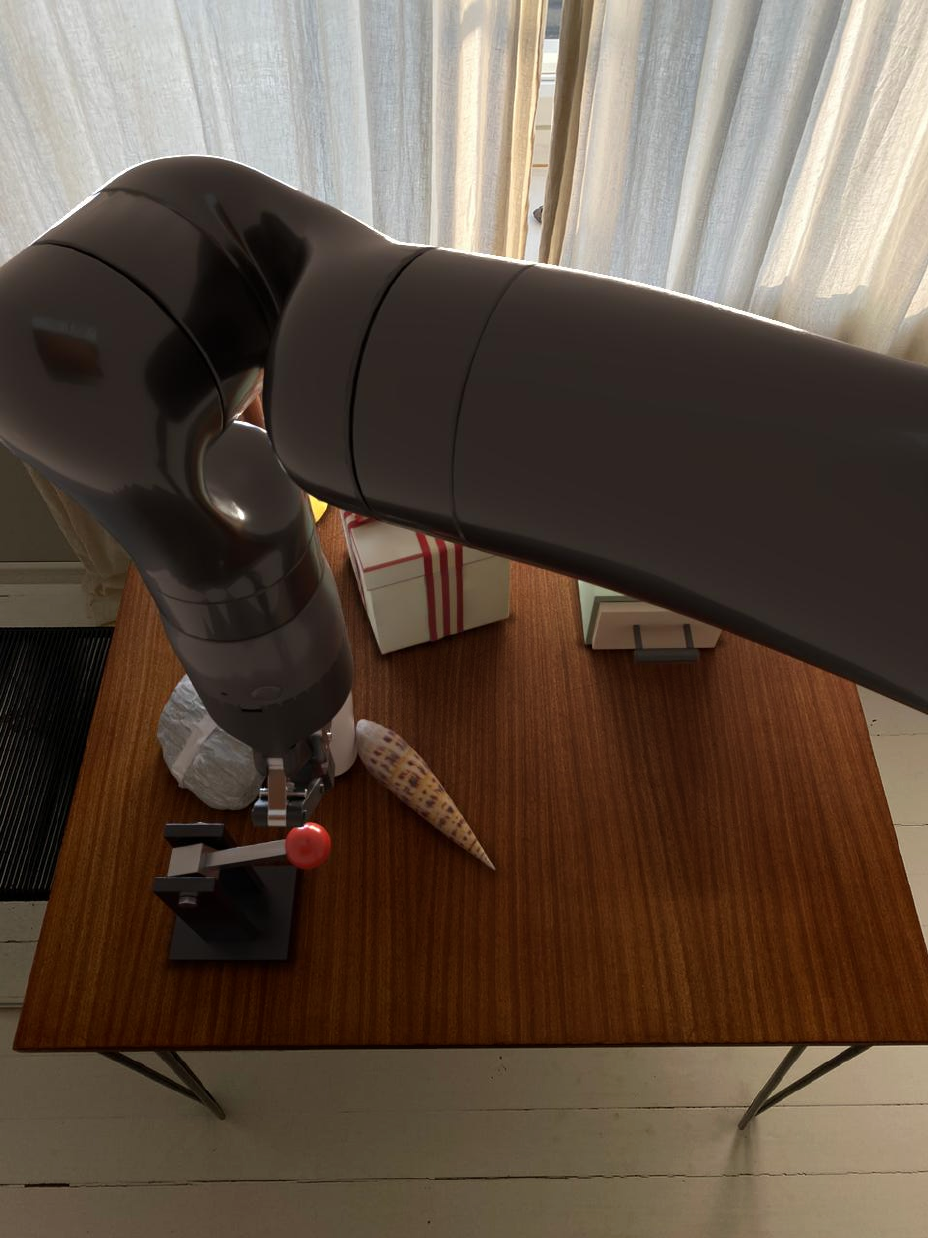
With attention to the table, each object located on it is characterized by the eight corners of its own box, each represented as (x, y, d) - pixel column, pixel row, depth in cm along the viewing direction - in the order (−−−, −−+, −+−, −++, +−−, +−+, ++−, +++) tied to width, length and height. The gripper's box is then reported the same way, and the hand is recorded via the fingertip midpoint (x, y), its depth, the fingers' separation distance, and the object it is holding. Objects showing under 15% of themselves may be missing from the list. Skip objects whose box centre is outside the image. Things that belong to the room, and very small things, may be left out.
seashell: (381, 725, 87) (376, 701, 82) (509, 858, 79) (511, 839, 75) (346, 753, 85) (339, 730, 81) (473, 892, 77) (473, 874, 73)
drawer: (721, 683, 88) (739, 647, 82) (596, 685, 88) (605, 649, 82) (689, 523, 99) (702, 482, 93) (578, 525, 99) (585, 483, 93)
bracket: (299, 869, 79) (264, 804, 65) (289, 963, 74) (249, 913, 61) (188, 869, 79) (131, 804, 66) (172, 963, 74) (107, 912, 61)
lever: (341, 827, 63) (316, 812, 60) (337, 871, 61) (311, 858, 59) (198, 852, 67) (169, 839, 65) (190, 894, 66) (161, 882, 63)
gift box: (454, 497, 103) (451, 384, 89) (521, 616, 94) (530, 511, 79) (317, 543, 99) (290, 432, 85) (372, 671, 90) (353, 571, 76)
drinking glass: (295, 726, 87) (265, 647, 74) (364, 719, 87) (345, 639, 74) (296, 790, 83) (264, 718, 70) (367, 783, 83) (348, 710, 71)
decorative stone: (307, 751, 85) (296, 724, 80) (232, 832, 81) (216, 808, 76) (213, 681, 89) (198, 651, 84) (137, 754, 85) (116, 726, 80)
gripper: (204, 516, 43) (272, 685, 58) (147, 763, 36) (240, 886, 50) (356, 517, 43) (385, 686, 58) (328, 766, 36) (369, 888, 50)
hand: (317, 780), depth 54 cm, fingers closed
